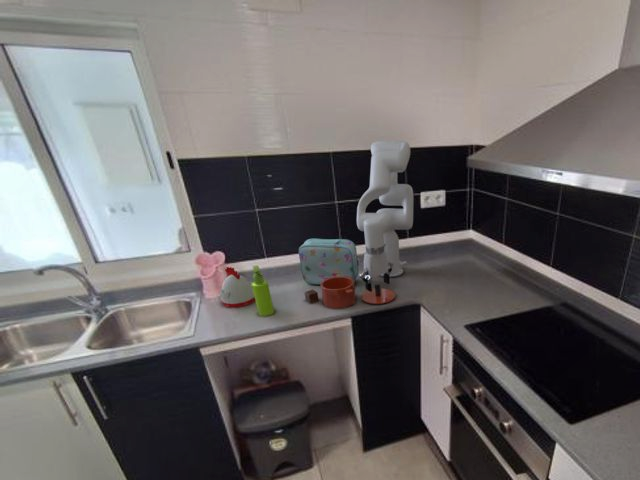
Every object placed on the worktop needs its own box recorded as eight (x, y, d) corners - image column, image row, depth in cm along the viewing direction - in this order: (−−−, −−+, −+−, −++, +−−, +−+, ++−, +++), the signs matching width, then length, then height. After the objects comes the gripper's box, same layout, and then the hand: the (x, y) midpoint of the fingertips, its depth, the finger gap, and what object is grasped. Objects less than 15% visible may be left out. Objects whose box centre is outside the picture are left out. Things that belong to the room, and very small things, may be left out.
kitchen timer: (243, 290, 173) (234, 259, 166) (263, 297, 167) (256, 265, 160) (215, 302, 162) (205, 270, 155) (236, 310, 156) (227, 276, 149)
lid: (381, 287, 174) (380, 274, 171) (402, 297, 165) (401, 283, 162) (354, 297, 165) (353, 283, 162) (375, 308, 156) (374, 294, 153)
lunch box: (363, 279, 183) (359, 235, 173) (358, 287, 174) (353, 242, 164) (309, 277, 186) (302, 234, 175) (302, 286, 177) (294, 241, 166)
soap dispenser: (260, 318, 150) (248, 271, 140) (258, 311, 155) (246, 265, 146) (275, 315, 152) (265, 268, 143) (272, 308, 158) (262, 262, 148)
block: (314, 297, 166) (312, 289, 164) (318, 300, 163) (317, 292, 161) (305, 300, 163) (304, 292, 161) (310, 303, 161) (309, 295, 159)
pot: (340, 289, 173) (338, 272, 169) (365, 303, 161) (364, 284, 156) (314, 299, 164) (311, 281, 160) (338, 314, 152) (336, 295, 148)
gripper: (385, 241, 162) (388, 278, 171) (352, 252, 152) (356, 290, 161) (397, 246, 158) (398, 283, 167) (363, 257, 148) (367, 296, 156)
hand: (378, 286), depth 164 cm, fingers open, 9 cm apart
